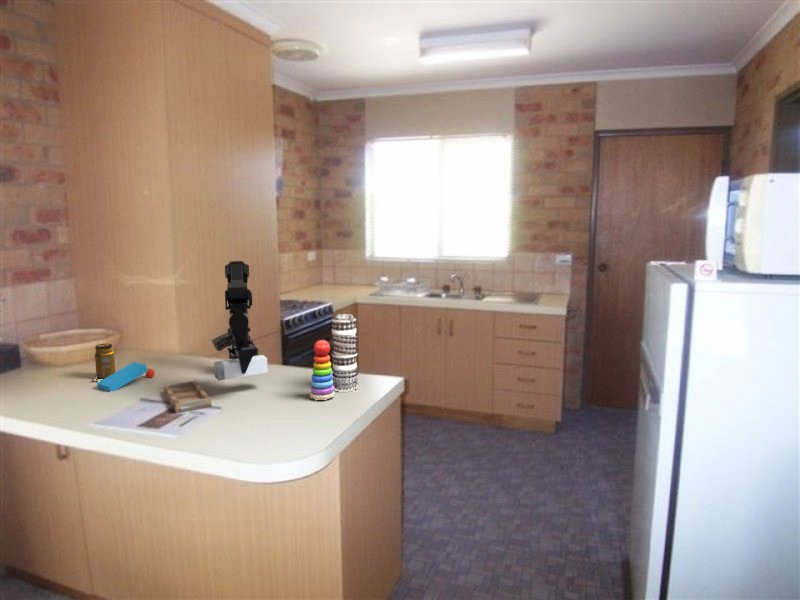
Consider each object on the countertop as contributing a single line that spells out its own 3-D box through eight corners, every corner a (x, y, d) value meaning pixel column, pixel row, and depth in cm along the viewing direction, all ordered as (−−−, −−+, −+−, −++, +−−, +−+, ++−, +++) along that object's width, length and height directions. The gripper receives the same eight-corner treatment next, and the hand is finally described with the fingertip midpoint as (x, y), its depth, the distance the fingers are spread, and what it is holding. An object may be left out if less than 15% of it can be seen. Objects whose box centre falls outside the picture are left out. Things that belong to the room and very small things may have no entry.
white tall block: (263, 369, 185) (262, 354, 184) (267, 372, 181) (267, 357, 180) (214, 376, 176) (213, 361, 176) (218, 380, 173) (217, 365, 172)
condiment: (119, 374, 199) (116, 342, 197) (113, 381, 191) (109, 347, 189) (97, 375, 198) (94, 343, 196) (90, 382, 190) (86, 349, 188)
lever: (115, 404, 182) (161, 376, 196) (108, 386, 179) (154, 359, 193) (104, 400, 185) (149, 373, 199) (96, 383, 183) (142, 356, 197)
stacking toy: (305, 399, 172) (303, 341, 169) (318, 392, 179) (316, 336, 176) (327, 403, 169) (325, 344, 166) (339, 395, 176) (338, 338, 173)
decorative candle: (325, 388, 183) (323, 315, 179) (346, 382, 189) (345, 311, 185) (343, 395, 176) (342, 319, 172) (364, 388, 183) (363, 314, 179)
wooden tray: (164, 392, 179) (163, 385, 178) (195, 387, 184) (195, 380, 184) (176, 413, 161) (175, 405, 160) (211, 406, 166) (211, 398, 166)
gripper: (206, 322, 180) (209, 368, 182) (221, 333, 164) (223, 383, 166) (240, 319, 185) (242, 363, 188) (257, 329, 170) (259, 377, 172)
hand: (241, 371), depth 178 cm, fingers closed on white tall block, 4 cm apart
